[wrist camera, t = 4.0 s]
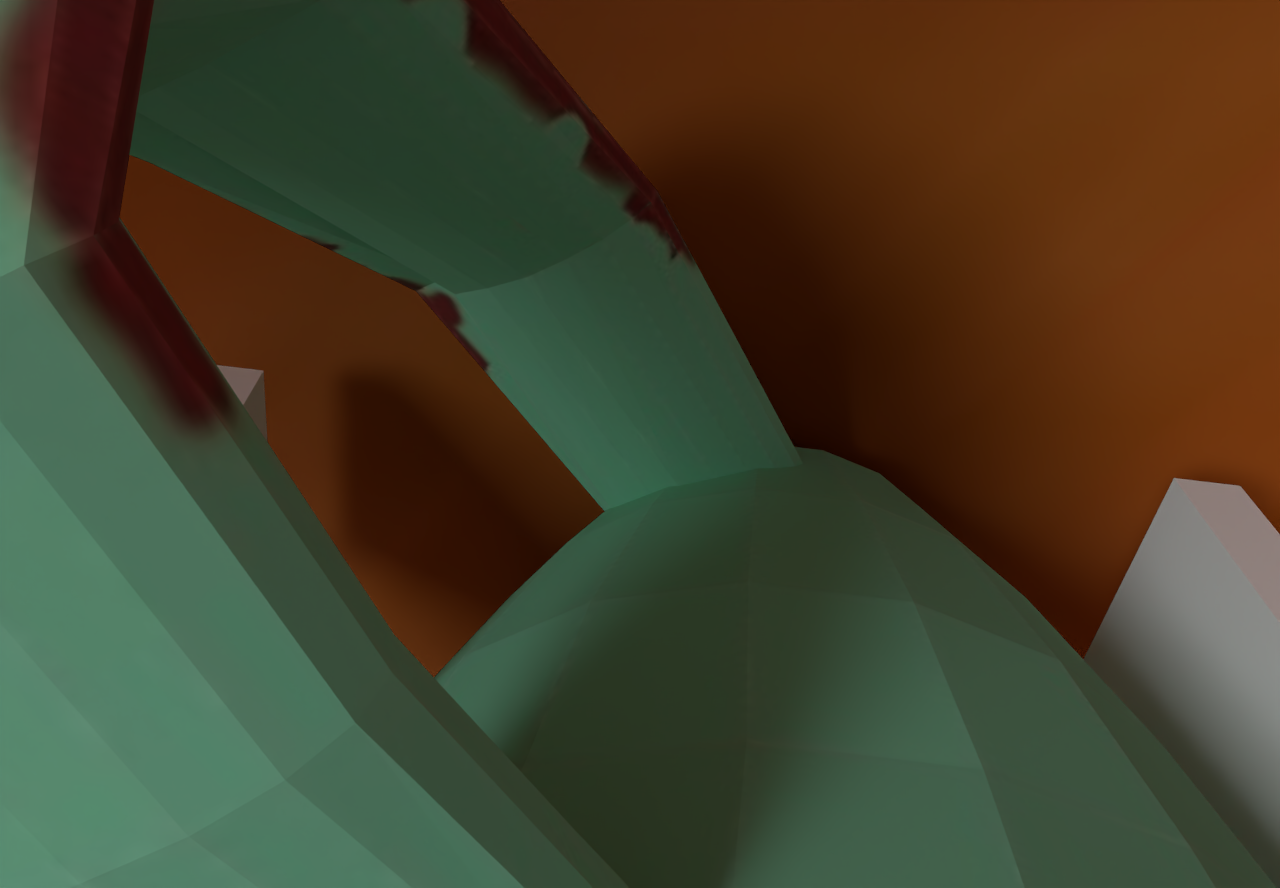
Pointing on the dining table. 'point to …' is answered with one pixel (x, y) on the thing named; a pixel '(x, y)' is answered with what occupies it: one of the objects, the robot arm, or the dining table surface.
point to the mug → (552, 597)
